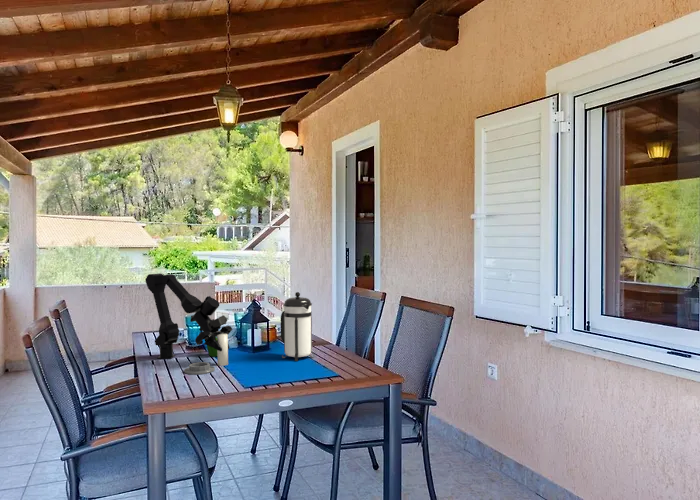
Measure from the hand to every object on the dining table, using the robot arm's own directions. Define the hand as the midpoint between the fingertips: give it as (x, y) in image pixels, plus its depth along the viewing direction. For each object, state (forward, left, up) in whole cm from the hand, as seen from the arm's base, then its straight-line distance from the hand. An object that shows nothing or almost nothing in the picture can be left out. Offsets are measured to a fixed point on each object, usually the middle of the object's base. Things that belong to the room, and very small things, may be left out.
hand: (225, 349), depth 229 cm
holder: (+10, -8, -7) cm, 15 cm away
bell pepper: (-18, -9, -7) cm, 21 cm away
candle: (-1, -1, -7) cm, 7 cm away
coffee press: (-14, +29, -7) cm, 33 cm away
